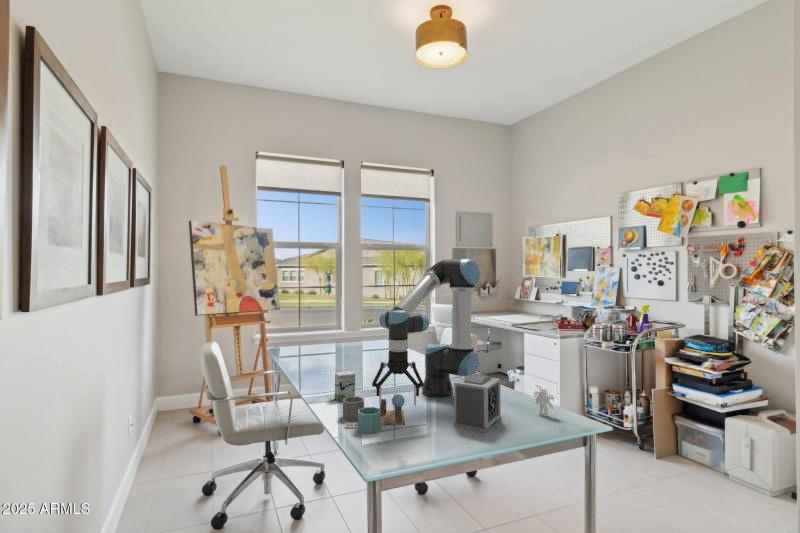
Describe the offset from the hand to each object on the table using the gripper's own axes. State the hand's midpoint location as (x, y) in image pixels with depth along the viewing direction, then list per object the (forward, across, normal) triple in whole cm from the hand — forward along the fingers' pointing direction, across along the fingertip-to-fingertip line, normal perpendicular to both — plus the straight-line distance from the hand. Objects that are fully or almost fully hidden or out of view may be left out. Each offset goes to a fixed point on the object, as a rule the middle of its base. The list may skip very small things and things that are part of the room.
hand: (397, 404), depth 167 cm
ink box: (+7, +24, -31) cm, 40 cm away
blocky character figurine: (+6, -60, -6) cm, 61 cm away
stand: (+7, +3, -5) cm, 9 cm away
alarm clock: (+7, -31, +2) cm, 32 cm away
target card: (+7, +17, +4) cm, 19 cm away
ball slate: (-1, 0, 0) cm, 1 cm away
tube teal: (+7, +11, +8) cm, 15 cm away
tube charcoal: (+7, +18, -6) cm, 20 cm away
